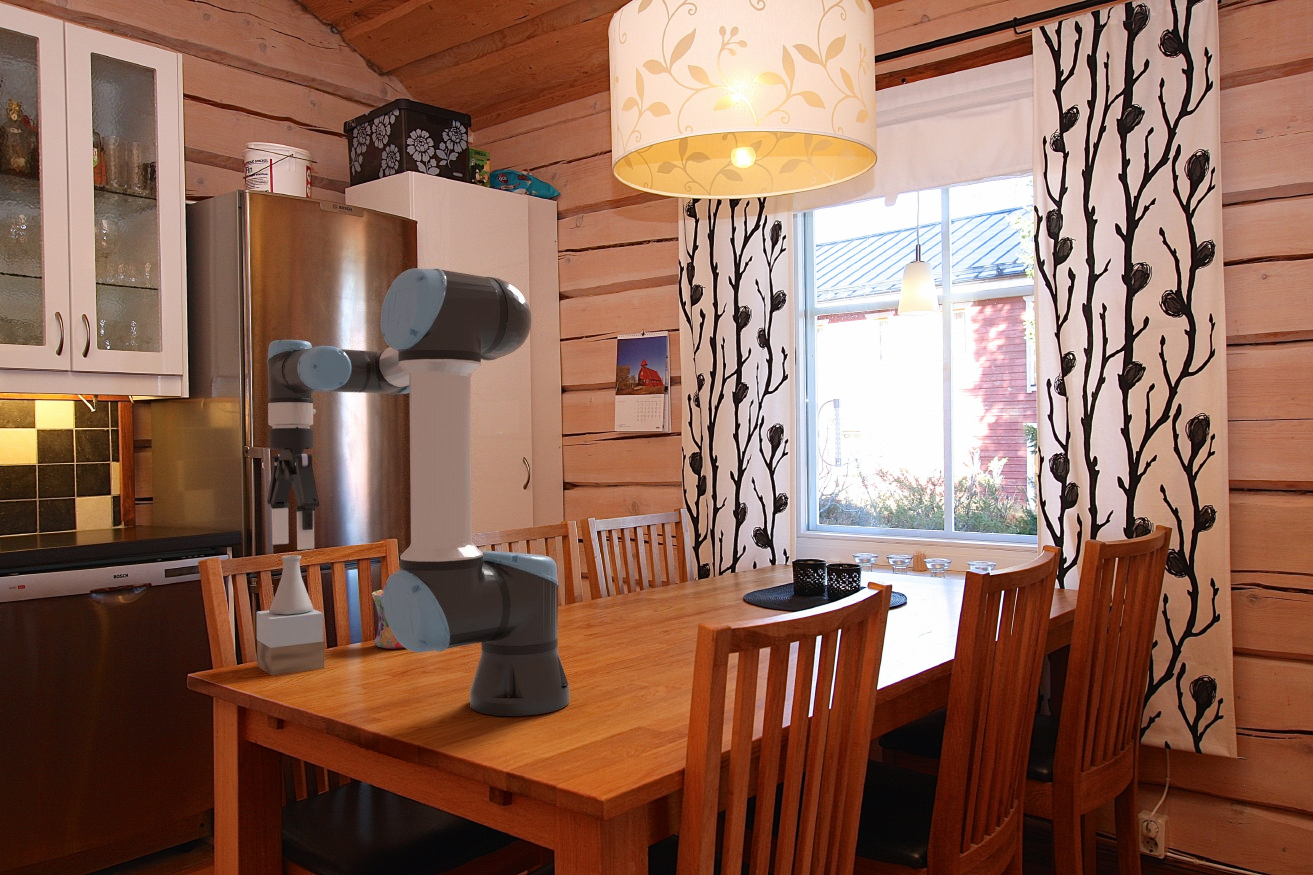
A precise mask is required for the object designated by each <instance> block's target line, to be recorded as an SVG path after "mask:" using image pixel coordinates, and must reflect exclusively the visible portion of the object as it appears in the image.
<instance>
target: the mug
mask: <svg viewBox="0 0 1313 875" xmlns="http://www.w3.org/2000/svg"><path fill="white" fill-rule="evenodd" d="M383 593H384V589H379V590H375V591H373V592H372V593H371V597H372V599H373V601H374V603H375V607H376V611H377V617H378V628H377V634H376V637H375V639H374V641H373V644H374V645H375V646H376V647H378V648H382V649H387V650H388V649H389V650H391V649H392V650H393V649H396V650H397V649H406V648H405V647H403V646H402V645H401V644H400V643H399V642H398V640H397V639H396V638H395V636H394V634H393V633H392V631H391V629H390V627H389V625H388V622H387V619H386V615H385V611H384V604H383Z"/></svg>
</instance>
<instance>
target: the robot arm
mask: <svg viewBox="0 0 1313 875" xmlns="http://www.w3.org/2000/svg"><path fill="white" fill-rule="evenodd" d="M380 313H381V314H380V330H381V335H382V336H383V340H384V343H386V345H387V346H388V347H386V348H384V349H381V350H377V351H375V350H359V349H358V350H356V349H344V348H343V349H342V348H338V347H336V346H334V345H316V346H314V347H313V346H312V343H311V342H310V341H306V340H301V339H282V340H273V341H271V342H270V343H269V345H268V350H267V351H268V352H267V360H266V363H267V364H266V365H267V378H268V379H267V382H268V383H267V384H268V386H267V387H268V390H267V391H268V404H267V405H268V406H267V412H268V414H267V416H268V417H267V419H268V420H267V422H268V424H267V425H268V426H270V427H271V428H270V429H269V430H268V446H269V447H268V448H269V449H270V450H272V451H273V450H274V451H275V450H277V451H278V450H279V454H273V455H272V468H271V475H270V482H269V486H268V487H269V488H268V494H267V501H266V502H267V504H268V505H270V508H271V531H272V532H271V535H272V536H271V537H272V538H271V539H272V540H271V543H272V545H286V544H289V543H290V542H289V540H290V539H289V508H290V507H291V505H290V503H289V501H288V499H289V497H290V493H291V489H293V490H292V491H293V492H294V496H295V500H296V502H297V504H296V507H295V510H294V511H295V512H296V542H297V543H296V544H297V546H296V547H297V548H296V550H297V551H298V550H300V551H301V550H311V549H314V550H315V511H316V508H319V507H320V500H319V496H318V490H317V484H316V479H315V475H314V474H315V473H314V469H313V468H314V467H313V456H312V454H311V453H305V452H304V451H305V450H312V449H313V448H314V446H315V440H314V438H315V436H314V430H313V428H311V427H310V426H313V425H314V415H315V414H316V412H317V411H316V409H314V392H317V393H318V392H323V393H324V392H330V393H331V392H333V393H359V394H360V393H364V394H365V393H367V394H387V395H392V396H393V395H394V396H395V395H401V394H406V395H407V394H409V449H410V450H409V462H410V463H409V464H410V465H409V466H410V467H409V468H410V469H409V470H410V472H409V474H410V477H409V478H410V481H409V482H410V484H409V485H410V486H409V487H410V545H409V546H408V547H407V549H405V550H404V552H402V553H401V554H400V555H399V556H400V558H399V559H400V561H399V562H400V565H399V567H400V568H399V570H396V571H394V573H392V574H390V575H389V577H388V578H387V580H386V581H385V582H386V584H385V585H384V587H383V590H384V593H383V604H384V611H385V615H386V619H387V622H388V625H389V627H390V629H391V631H392V633H393V634H394V636H395V638H396V639H397V640H398V642H399V643H400V644H401V645H402V646H403V647H405V648H404V649H406V650H408V651H410V652H413V653H420V654H421V653H429V652H438V653H440V652H443V651H446V650H448V649H453V648H459V647H464V646H469V645H474V644H480V643H481V644H480V645H481V647H480V648H481V652H480V654H481V655H480V658H479V661H478V665H477V668H476V671H475V674H474V677H473V680H472V684H471V687H470V690H469V705H470V706H469V707H470V708H471V709H472V710H473V711H475V712H478V713H480V714H485V715H491V716H497V717H499V716H501V717H502V716H503V717H522V716H523V717H528V716H536V715H537V716H538V715H542V714H546V713H547V714H548V713H551V712H557V711H559V710H561V709H564V708H565V707H566V706H567V705H568V704H570V685H569V682H568V678H567V676H566V673H565V670H564V667H563V666H564V665H563V663H562V660H561V657H560V654H559V648H558V646H559V642H558V641H559V639H558V638H559V633H558V632H559V631H558V629H559V628H558V627H559V622H558V618H559V617H558V615H559V614H558V610H559V608H558V606H559V604H558V603H559V601H558V600H559V584H560V583H559V581H558V567H557V566H558V565H557V563H556V561H555V560H554V558H552V557H551V556H547V555H542V554H534V553H523V552H509V551H497V550H495V551H493V550H486V551H483V552H482V551H481V549H480V548H478V547H477V545H475V543H474V542H473V515H472V514H473V509H472V508H473V507H472V505H473V503H472V500H473V498H472V496H473V495H472V494H473V493H472V491H473V490H472V489H473V488H472V486H473V485H472V414H471V413H472V405H471V404H472V402H471V399H472V397H471V395H472V392H471V388H472V387H471V385H472V384H471V380H472V379H471V377H472V376H473V374H474V373H475V372H476V371H477V370H478V368H480V367H481V366H482V361H485V362H486V361H487V362H488V361H495V360H497V359H500V358H502V357H505V356H507V355H509V354H513V353H514V352H516V350H518V349H520V348H521V347H522V346H523V344H524V343H525V342H526V340H527V338H528V336H529V334H530V331H531V328H532V314H531V313H532V312H531V309H530V306H529V303H528V301H527V299H526V298H525V296H524V295H523V293H522V292H521V291H520V290H519V289H518V288H517V287H516V286H514V285H513V284H511V283H509V282H508V281H506V280H503V279H500V278H498V277H491V276H482V275H476V274H471V273H469V274H468V273H463V272H459V271H452V270H444V269H440V268H418V267H417V268H414V267H413V268H410V269H409V268H408V269H407V270H404V271H403V272H401V273H400V274H399V275H398V276H396V278H395V279H394V280H393V281H392V282H391V285H390V287H389V288H388V290H387V292H386V295H385V296H384V299H383V302H382V307H381V312H380Z"/></svg>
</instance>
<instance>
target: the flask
mask: <svg viewBox="0 0 1313 875" xmlns="http://www.w3.org/2000/svg"><path fill="white" fill-rule="evenodd" d="M280 557H281V560H282V574H281V578H280V580H279V584H278V586H277V590H276V592H275V595H274V597H273V599H272V603H271V605H270V608H269V609H268V610H269V612H271V613H273V614H299V613H305V612H308V611H312V610H314V606H313V603H312V600H311V599H310V595H309V593H308V592H307V589H306V586H305V583H304V580H303V578H302V574H301V573H302V572H301V568H300V567H301V565H300V564H301V563H300V560H301V559H302V555H298V554H294V555H293V554H292V555H283V556H280Z"/></svg>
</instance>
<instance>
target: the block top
mask: <svg viewBox="0 0 1313 875" xmlns="http://www.w3.org/2000/svg"><path fill="white" fill-rule="evenodd" d="M269 610H270V609H268V610H260V611H259V610H258V611H256V640H258V641H260V642H262V643H263V644H265V645H266V646H268V647H270V648H275V647H283V646H291V645H299V644H307V643H315V642H323V641H324V612H321V611H320V610H317V609H314V610H312V611H308V612H305V613H299V614H273V613H271V612H269Z"/></svg>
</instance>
